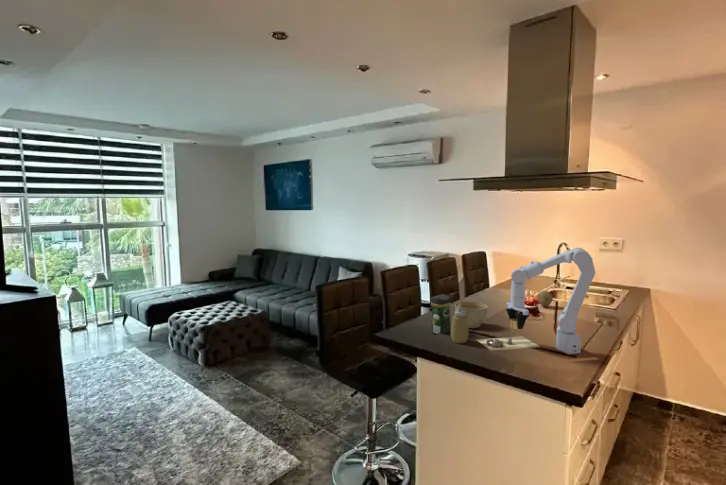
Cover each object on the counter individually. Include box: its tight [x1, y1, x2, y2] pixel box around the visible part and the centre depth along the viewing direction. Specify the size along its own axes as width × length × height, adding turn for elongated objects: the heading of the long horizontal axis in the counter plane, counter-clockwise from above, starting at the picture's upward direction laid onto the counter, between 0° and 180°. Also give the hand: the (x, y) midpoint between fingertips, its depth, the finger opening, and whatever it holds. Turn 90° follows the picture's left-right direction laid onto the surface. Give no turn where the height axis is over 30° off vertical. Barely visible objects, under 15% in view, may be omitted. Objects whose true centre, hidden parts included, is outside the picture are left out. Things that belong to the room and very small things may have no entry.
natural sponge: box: [536, 290, 554, 308], centre depth 242 cm, size 9×9×10 cm
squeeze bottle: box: [450, 304, 470, 344], centre depth 181 cm, size 8×8×18 cm
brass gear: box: [509, 318, 522, 331], centre depth 177 cm, size 6×6×4 cm
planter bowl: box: [454, 301, 489, 329], centre depth 207 cm, size 16×16×11 cm
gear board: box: [476, 335, 541, 352], centre depth 179 cm, size 14×23×4 cm, turn 100°
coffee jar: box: [430, 293, 451, 335], centre depth 197 cm, size 10×8×19 cm
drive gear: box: [487, 338, 503, 348], centre depth 176 cm, size 7×7×2 cm
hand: (516, 326), depth 178 cm, fingers closed on brass gear, 5 cm apart
